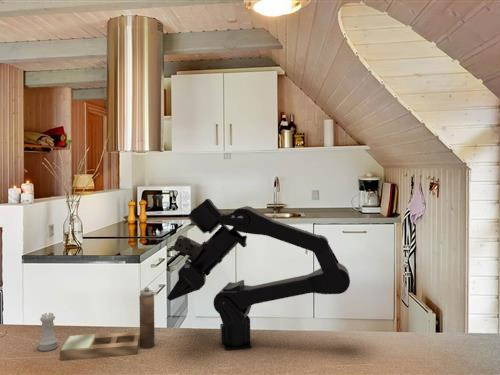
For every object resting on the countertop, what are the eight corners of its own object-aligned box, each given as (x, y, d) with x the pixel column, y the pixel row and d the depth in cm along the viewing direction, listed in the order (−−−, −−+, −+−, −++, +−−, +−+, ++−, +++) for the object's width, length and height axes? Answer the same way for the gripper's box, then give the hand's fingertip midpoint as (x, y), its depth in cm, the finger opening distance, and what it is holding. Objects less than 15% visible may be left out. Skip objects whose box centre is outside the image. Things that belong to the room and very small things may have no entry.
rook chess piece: (50, 352, 98) (49, 317, 98) (33, 351, 99) (32, 316, 99) (62, 345, 102) (61, 312, 102) (45, 343, 103) (45, 310, 103)
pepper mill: (154, 342, 103) (154, 285, 103) (154, 347, 100) (153, 288, 100) (140, 343, 103) (139, 286, 103) (139, 349, 99) (138, 289, 99)
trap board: (139, 339, 105) (139, 330, 105) (137, 353, 97) (137, 344, 97) (69, 344, 102) (69, 335, 102) (59, 360, 93) (59, 350, 93)
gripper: (197, 220, 111) (155, 263, 111) (188, 228, 93) (138, 279, 92) (227, 250, 111) (185, 292, 111) (224, 263, 93) (174, 315, 93)
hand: (171, 293), depth 102 cm, fingers open, 9 cm apart
